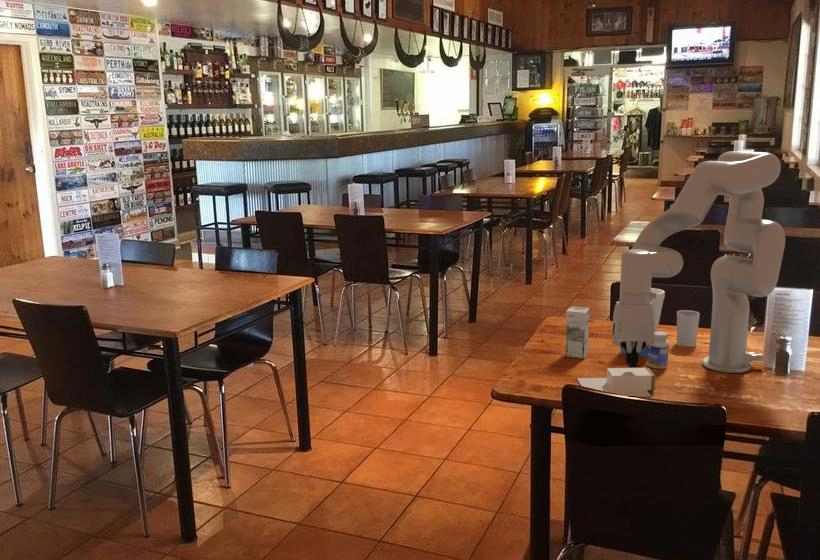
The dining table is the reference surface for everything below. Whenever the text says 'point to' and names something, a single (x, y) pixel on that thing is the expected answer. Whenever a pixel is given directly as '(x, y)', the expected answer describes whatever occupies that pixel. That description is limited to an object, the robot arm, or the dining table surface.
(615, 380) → the tall block
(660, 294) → the foam cup
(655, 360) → the pill bottle
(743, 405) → the dining table surface
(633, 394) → the felt mat
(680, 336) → the drinking glass
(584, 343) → the syrup box
